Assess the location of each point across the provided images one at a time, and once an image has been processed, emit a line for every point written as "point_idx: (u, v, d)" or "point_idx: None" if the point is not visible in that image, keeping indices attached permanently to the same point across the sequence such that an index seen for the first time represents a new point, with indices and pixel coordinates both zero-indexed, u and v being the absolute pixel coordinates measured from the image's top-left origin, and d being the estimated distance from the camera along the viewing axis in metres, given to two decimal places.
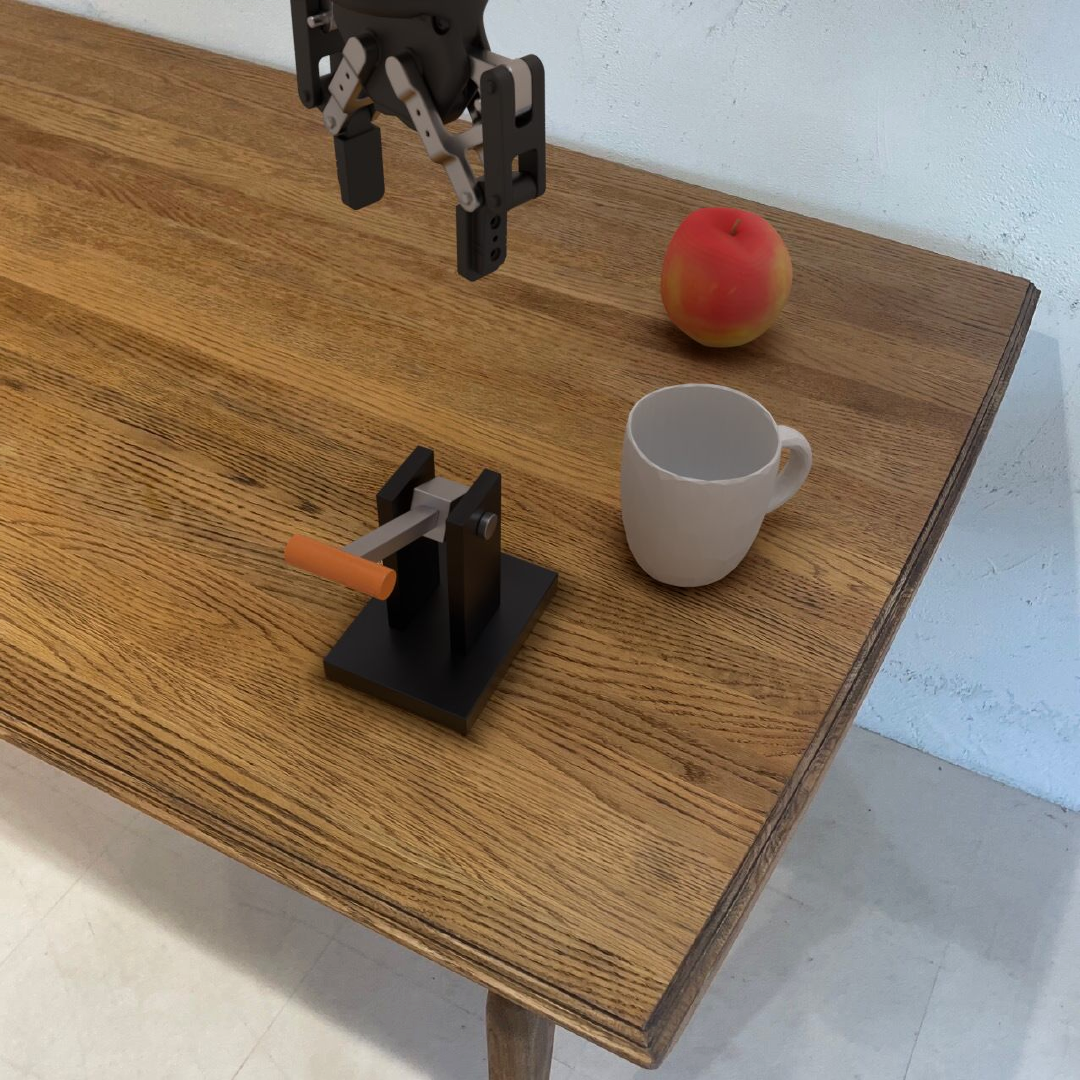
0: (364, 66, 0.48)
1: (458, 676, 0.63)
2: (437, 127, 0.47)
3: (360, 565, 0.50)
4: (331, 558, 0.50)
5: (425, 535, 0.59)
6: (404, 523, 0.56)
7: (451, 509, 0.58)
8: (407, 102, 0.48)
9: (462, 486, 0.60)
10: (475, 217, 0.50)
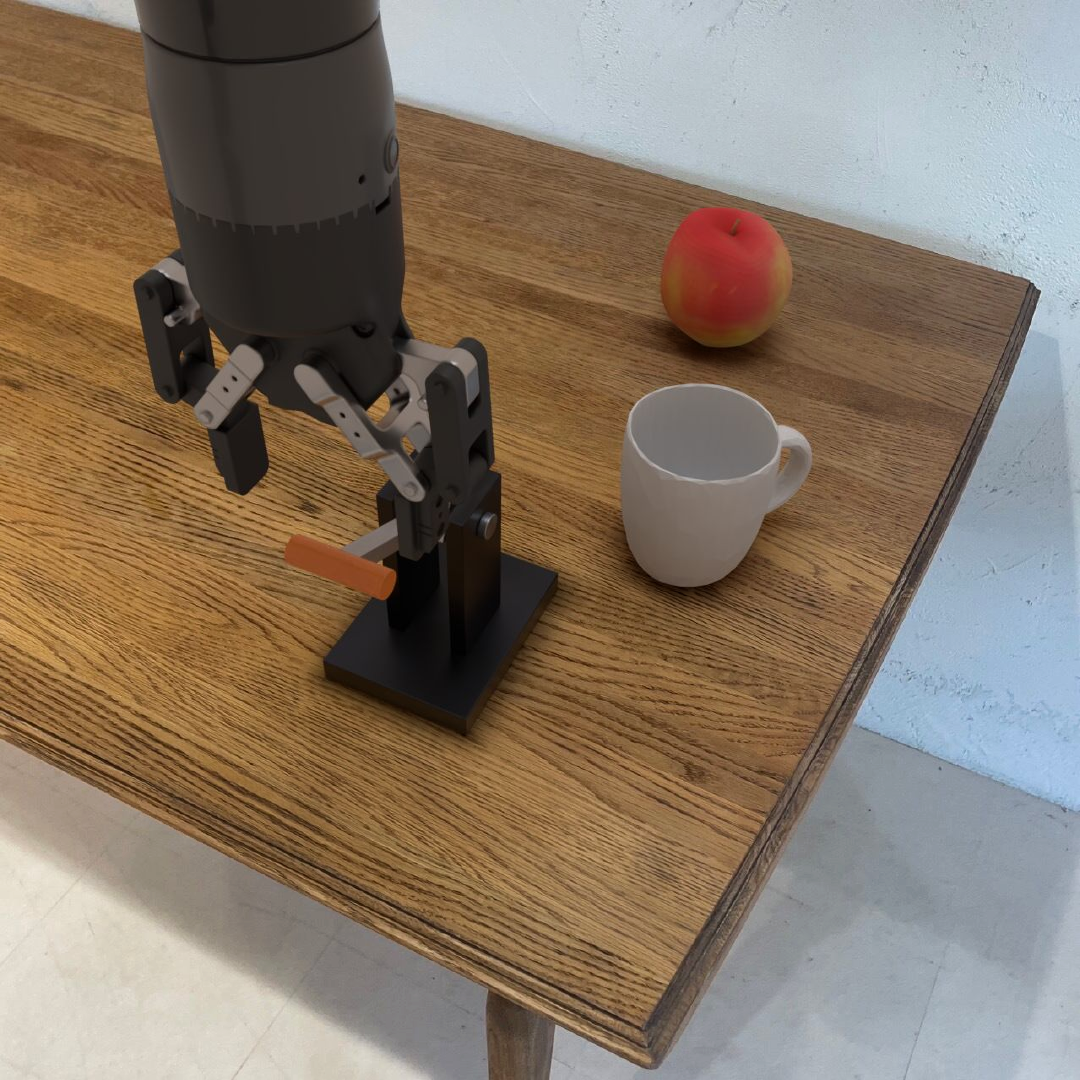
0: (261, 371, 0.42)
1: (458, 676, 0.63)
2: (369, 427, 0.42)
3: (360, 565, 0.50)
4: (331, 558, 0.50)
5: None
6: None
7: (451, 509, 0.58)
8: (326, 405, 0.41)
9: None
10: (418, 502, 0.44)
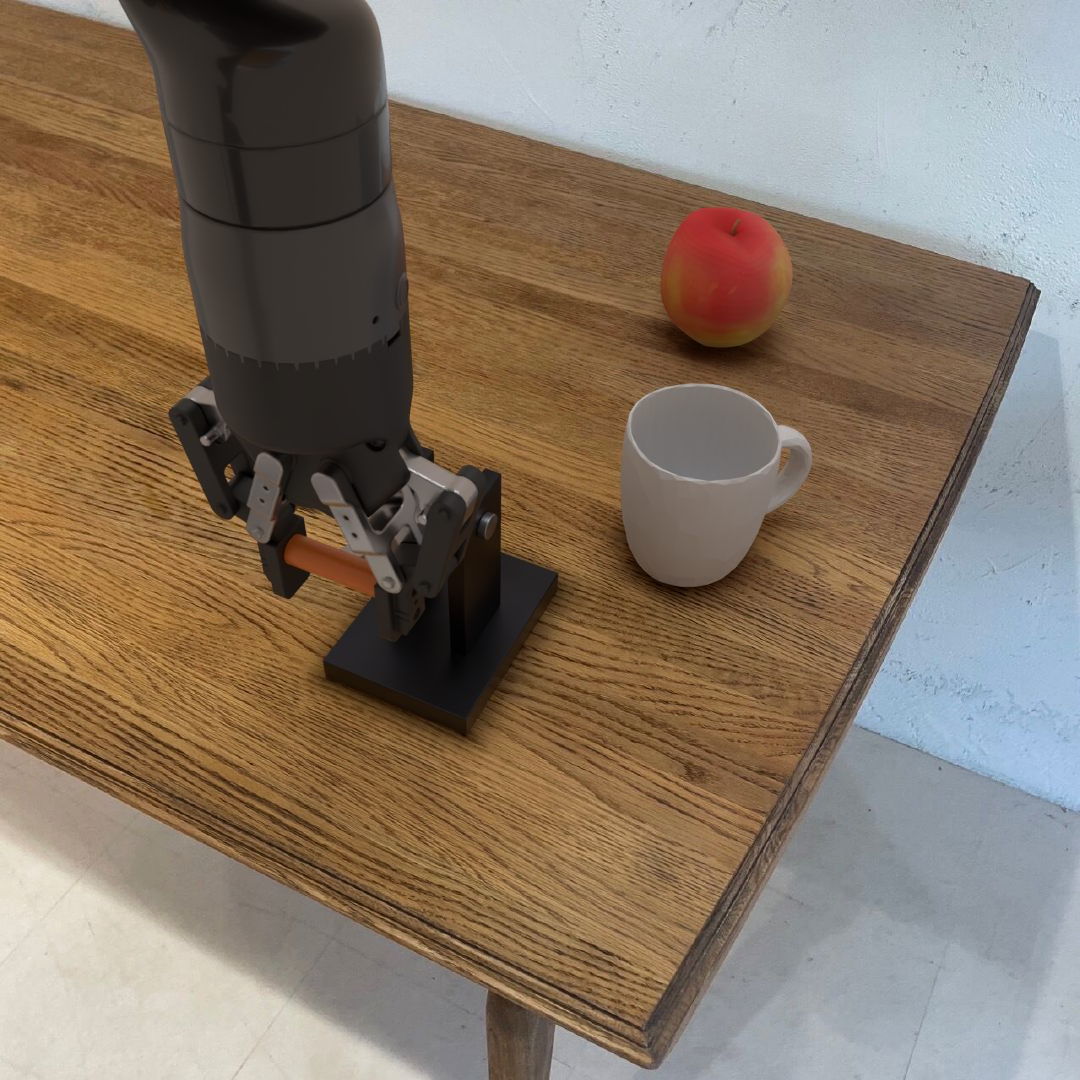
0: None
1: (458, 676, 0.63)
2: (367, 532, 0.46)
3: (360, 565, 0.50)
4: (331, 558, 0.50)
5: None
6: None
7: None
8: (332, 506, 0.45)
9: None
10: None
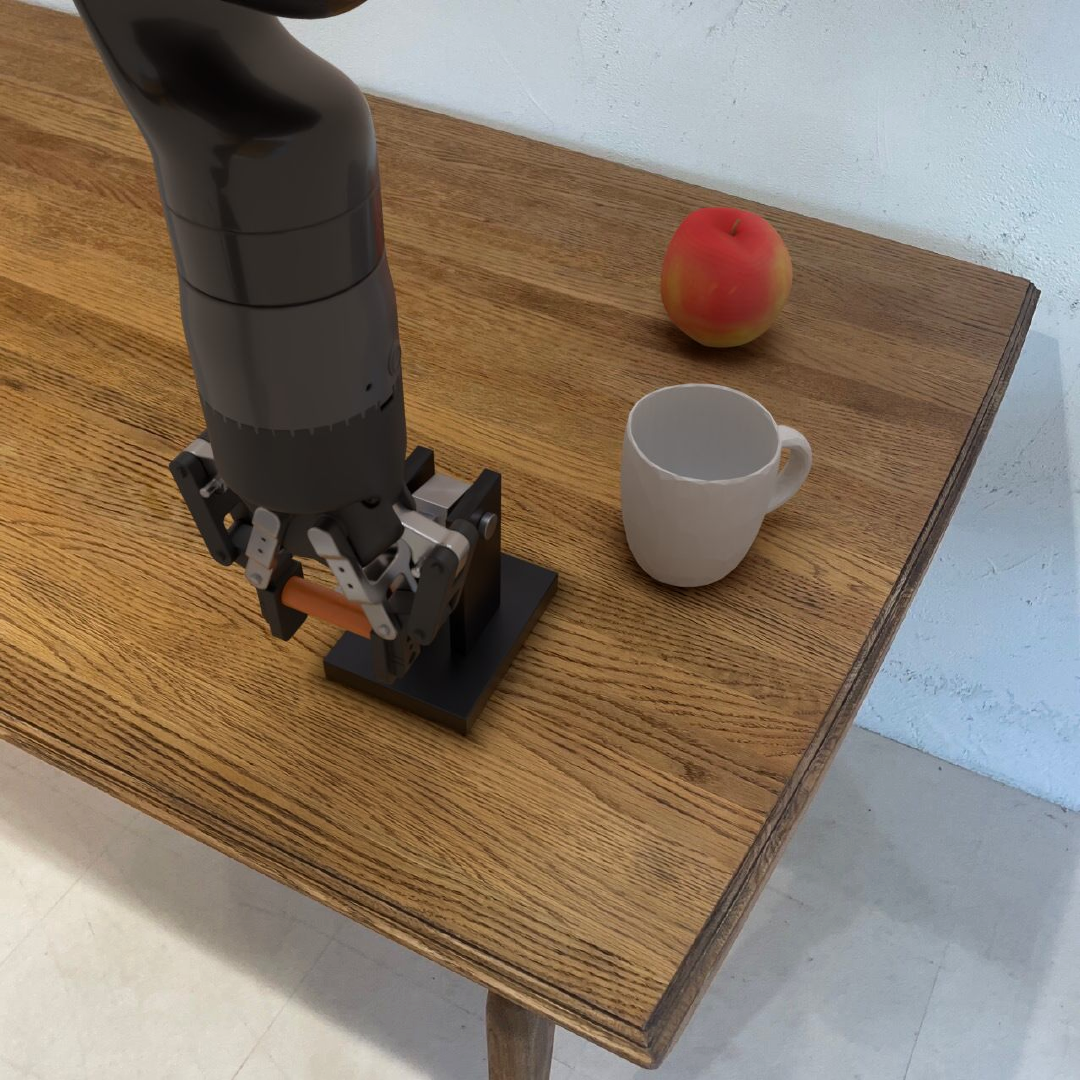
0: None
1: (458, 676, 0.63)
2: (363, 583, 0.47)
3: (354, 610, 0.51)
4: (326, 604, 0.51)
5: None
6: None
7: None
8: (329, 559, 0.47)
9: (460, 484, 0.60)
10: None
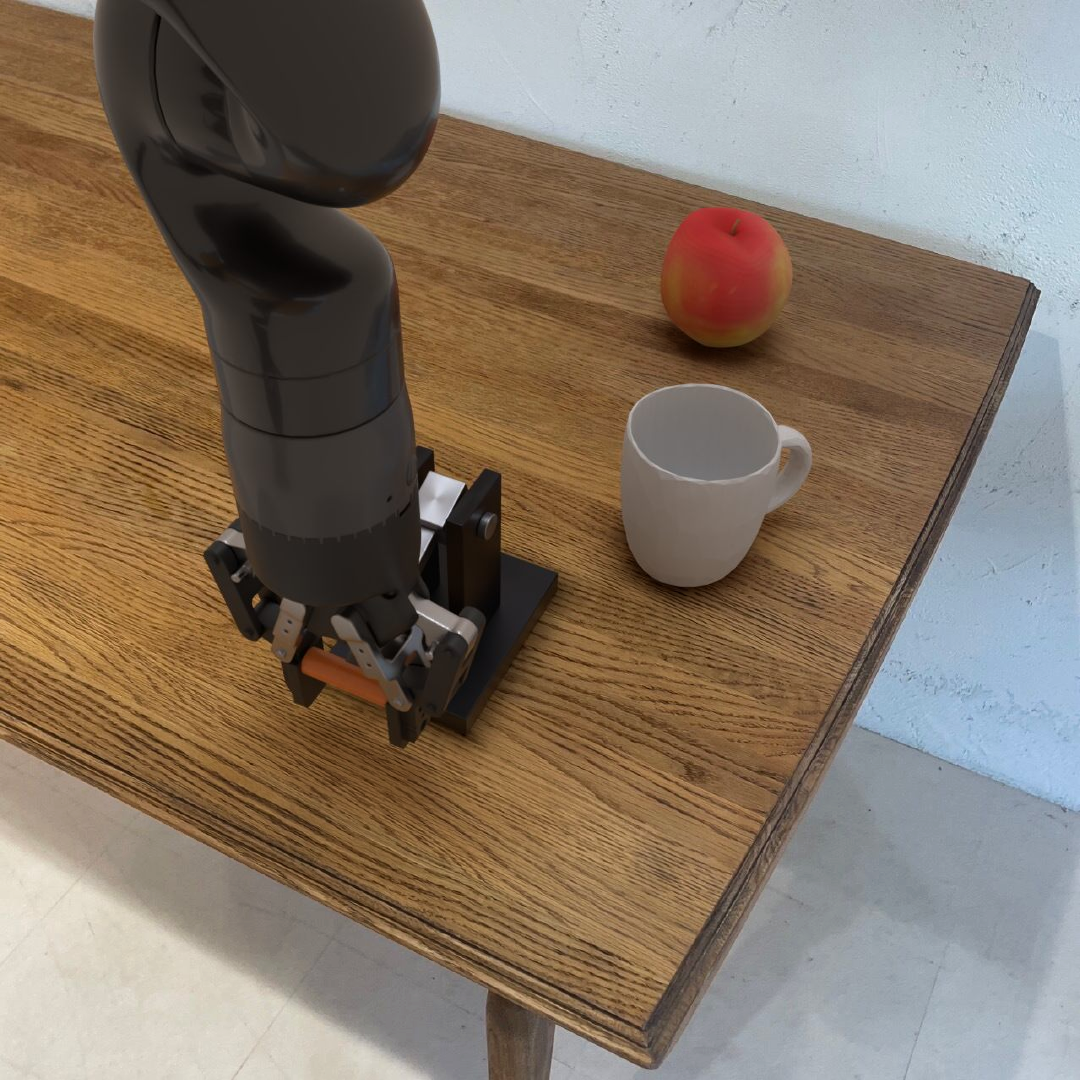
0: None
1: None
2: (380, 663, 0.52)
3: (365, 688, 0.55)
4: (340, 681, 0.56)
5: None
6: None
7: None
8: (349, 641, 0.51)
9: (453, 485, 0.59)
10: None
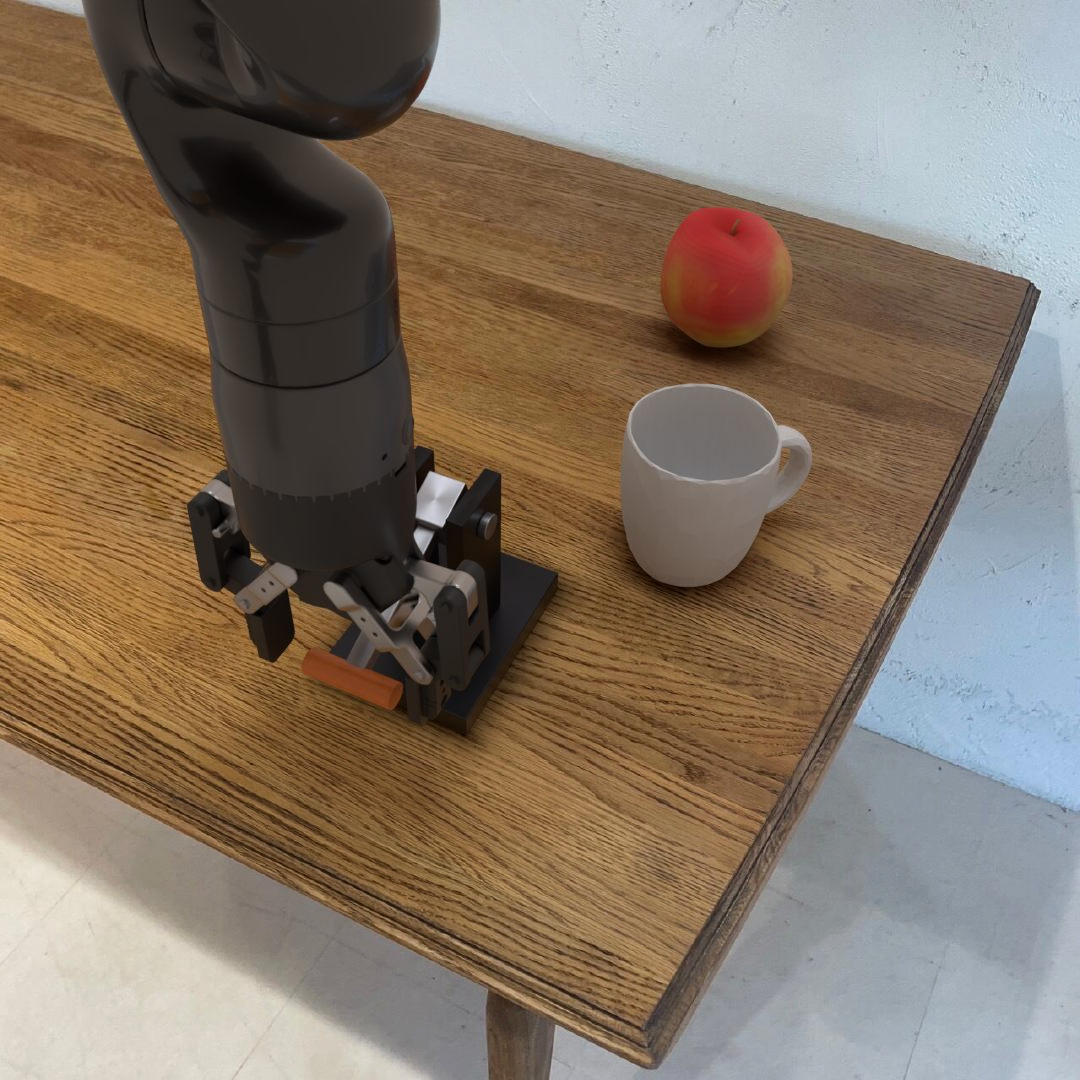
0: (295, 582, 0.50)
1: None
2: (385, 629, 0.50)
3: (366, 689, 0.55)
4: (340, 682, 0.56)
5: None
6: None
7: None
8: (349, 611, 0.50)
9: (453, 485, 0.59)
10: None
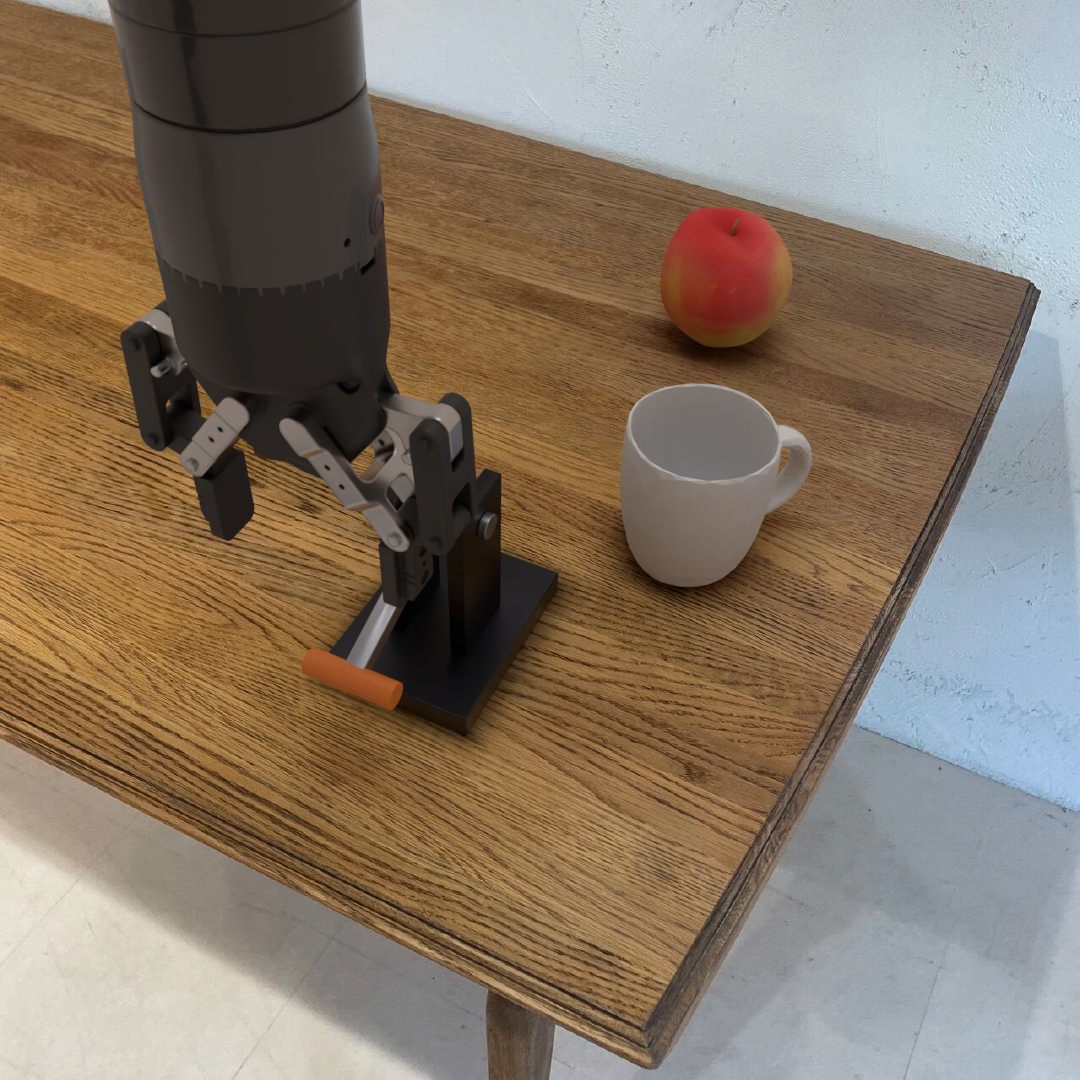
0: (246, 424, 0.42)
1: (458, 676, 0.63)
2: (353, 480, 0.42)
3: (366, 689, 0.55)
4: (340, 682, 0.56)
5: None
6: None
7: None
8: (311, 458, 0.42)
9: None
10: (402, 552, 0.45)
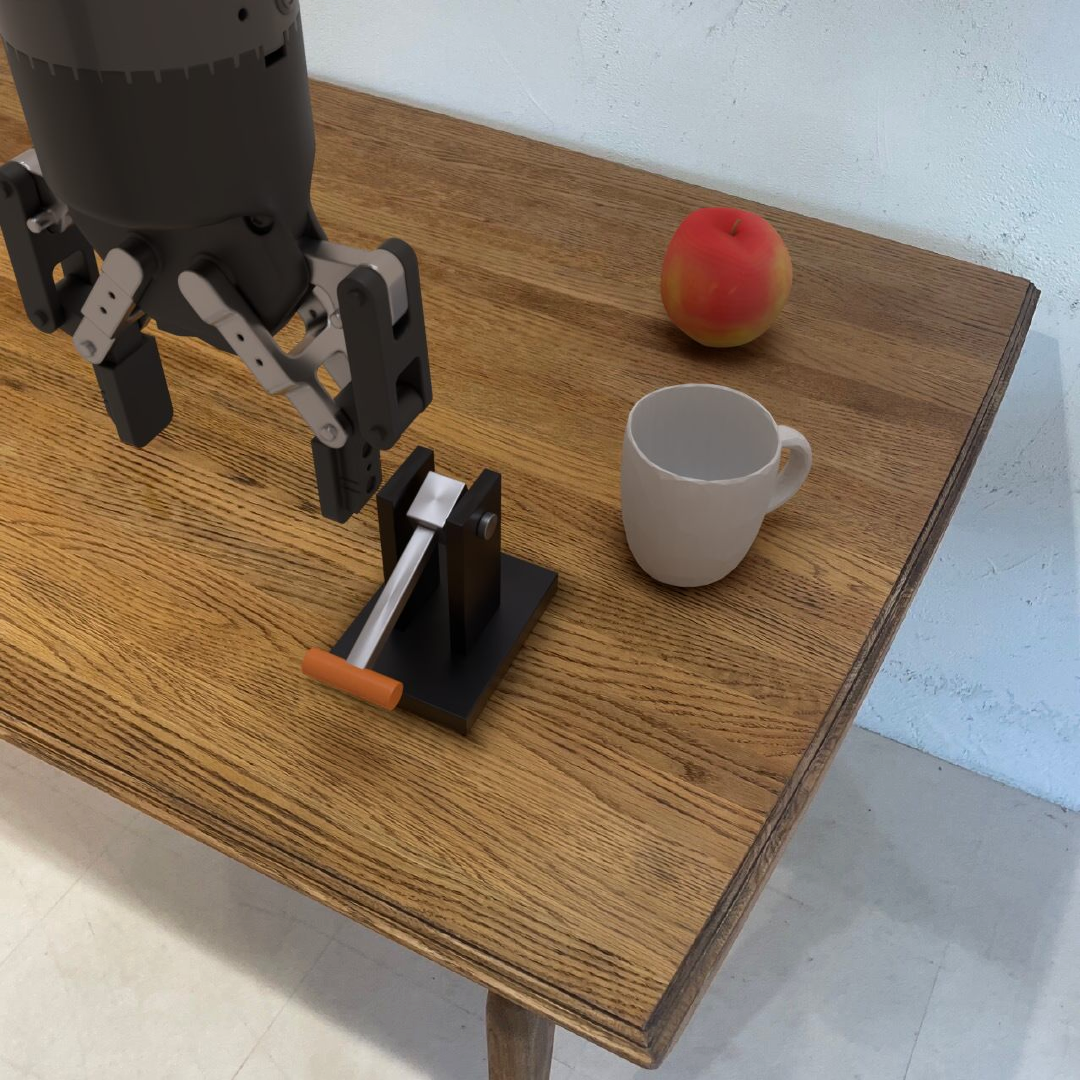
0: (140, 284, 0.34)
1: (458, 676, 0.63)
2: (273, 352, 0.34)
3: (366, 689, 0.55)
4: (340, 682, 0.56)
5: None
6: (403, 577, 0.58)
7: None
8: (221, 325, 0.34)
9: (453, 485, 0.59)
10: (341, 450, 0.37)
